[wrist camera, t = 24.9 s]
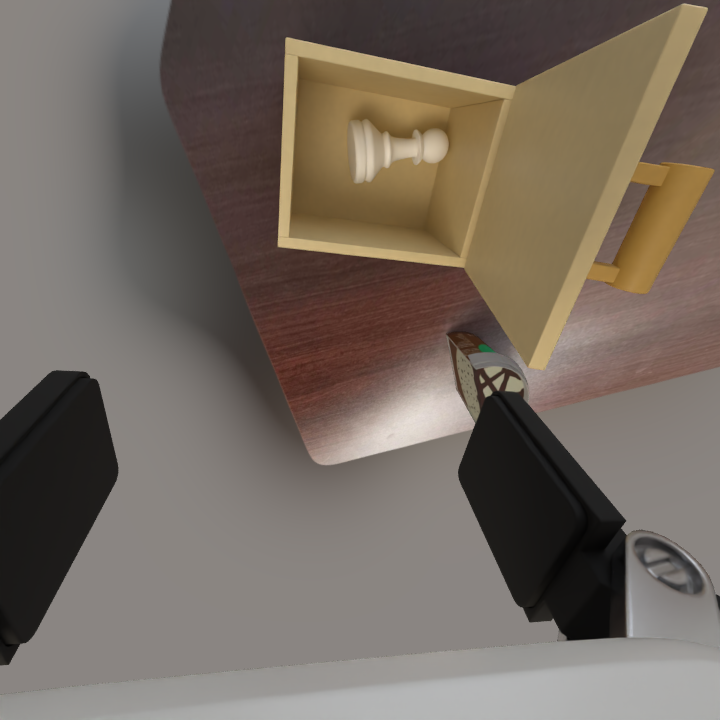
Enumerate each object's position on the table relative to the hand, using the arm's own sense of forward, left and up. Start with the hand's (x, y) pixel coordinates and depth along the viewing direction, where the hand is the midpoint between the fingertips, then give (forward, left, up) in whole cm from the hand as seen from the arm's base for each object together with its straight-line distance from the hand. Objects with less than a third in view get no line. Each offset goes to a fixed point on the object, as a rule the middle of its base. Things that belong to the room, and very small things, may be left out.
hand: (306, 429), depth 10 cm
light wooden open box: (+6, +5, -34) cm, 35 cm away
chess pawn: (+4, +6, -31) cm, 32 cm away
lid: (+12, +5, -14) cm, 19 cm away
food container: (+24, -16, -34) cm, 45 cm away
